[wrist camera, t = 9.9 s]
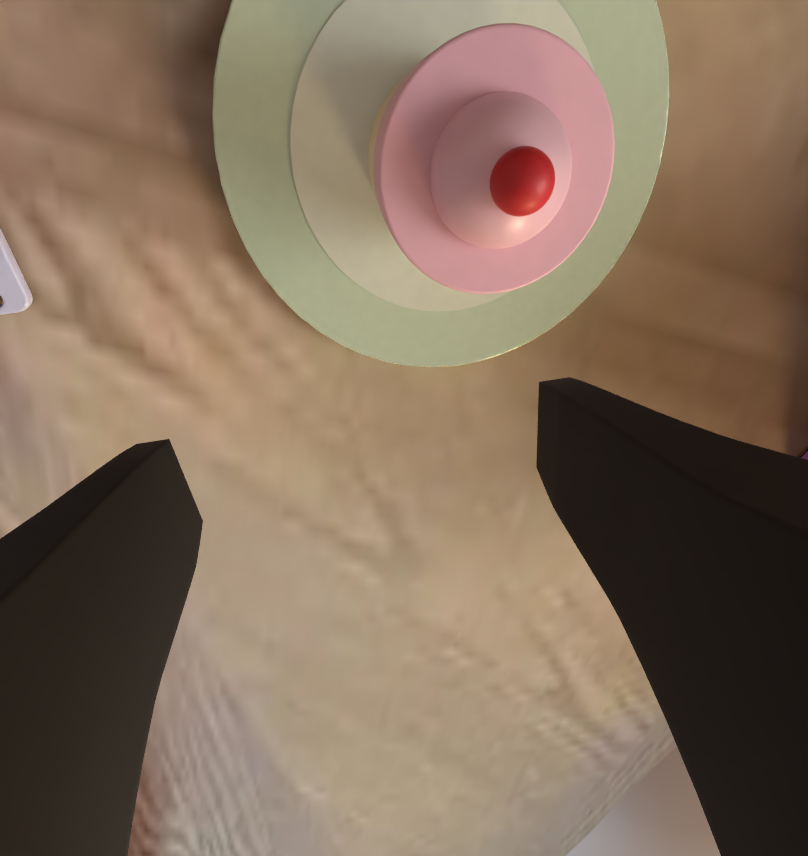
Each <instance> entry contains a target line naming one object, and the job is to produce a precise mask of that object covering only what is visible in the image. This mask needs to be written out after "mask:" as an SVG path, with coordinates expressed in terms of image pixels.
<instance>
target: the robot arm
mask: <svg viewBox="0 0 808 856" xmlns="http://www.w3.org/2000/svg"><path fill="white" fill-rule="evenodd" d="M0 296H1V298H2V299H3V304H0V315H3V314H10V313H18V312H21V311H24V310H26V309H27V308H29V307H30V305H31V304H32V300H33V298H32V294H31V291H30V289H29V287H28V285H27V283H26V281H25V279H24V277H23V275H22V272H21V270H20V268H19V266H18V264H17V262H16V260H15V258H14V256H13V254H12V251H11V249H10V247H9V245H8V243H7V241H6V239H5V237H4V235H3V233H2V230H1V228H0ZM537 469H538V472H539V474H540V477H541V479H542V482H543V484H544V487H545V489H546V491H547V494H548V496H549V498H550V501H551V503H552V505H553V507H554V509H555V511H556V512H557V514H558V516H559V518H560V519H561V521H562V523H563V524H564V526H565V528H566V529H567V531H568V533H569V534H570V536H571V538H572V539H573V541H574V543H575V544H576V546H577V548H578V549H579V551H580V552H581V554H582V556H583V557H584V559H585V561H586V562H587V564H588V566H589V567H590V569H591V570H592V572H593V574H594V575H595V577H596V579H597V580H598V582H599V584H600V585H601V587H602V589H603V590H604V592H605V593H606V595H607V597H608V598H609V600H610V602H611V604H612V606H613V608H614V609H615V611H616V613H617V615H618V617H619V618H620V620H621V622H622V625H623V627H624V629H625V631H626V633H627V635H628V637H629V639H630V641H631V644H632V646H633V648H634V650H635V652H636V654H637V656H638V658H639V660H640V663H641V665H642V667H643V669H644V671H645V673H646V676H647V678H648V680H649V682H650V685H651V687H652V689H653V691H654V694H655V696H656V698H657V700H658V703H659V705H660V707H661V709H662V712H663V714H664V716H665V718H666V721H667V723H668V725H669V728H670V730H671V732H672V735H673V737H674V740H675V742H676V744H677V747H678V749H679V752H680V754H681V756H682V759H683V761H684V764H685V766H686V768H687V771H688V773H689V776H690V778H691V780H692V783H693V785H694V788H695V790H696V792H697V794H698V797H699V800H700V803H701V805H702V808H703V810H704V813H705V815H706V818H707V821H708V823H709V826H710V828H711V831H712V834H713V836H714V839H715V841H716V844H717V846H718V849H719V851H720V854H721V856H808V460H807V459H803V458H799V457H795V456H791V455H787V454H783V453H780V452H776V451H773V450H769V449H766V448H762V447H758V446H755V445H751V444H748V443H744V442H741V441H738V440H734V439H731V438H728V437H725V436H722V435H719V434H716V433H713V432H710V431H707V430H705V429H702V428H699V427H696V426H693V425H690V424H688V423H685V422H682V421H680V420H677V419H674V418H672V417H669V416H666V415H664V414H661V413H659V412H656V411H654V410H651V409H649V408H647V407H644V406H642V405H639V404H637V403H634V402H632V401H630V400H627V399H625V398H622V397H620V396H618V395H615V394H613V393H611V392H608V391H606V390H603V389H601V388H598V387H596V386H593V385H591V384H588V383H586V382H583V381H580V380H577V379H574V378H570V377H569V378H562V379H556V380H549V381H543V382H539V402H538V435H537ZM202 523H203V520H202V518H201V515H200V513H199V511H198V508H197V506H196V503H195V501H194V498H193V496H192V494H191V491H190V489H189V486H188V484H187V481H186V479H185V477H184V474H183V472H182V469H181V467H180V464H179V462H178V460H177V457H176V455H175V452H174V450H173V447H172V445H171V443H170V440H169V439H166V440H160V441H153V442H147V443H140V444H136V445H134V446H132V447H131V448H129V449H127V450H125V451H124V452H122V453H121V454H119V455H118V456H116V457H115V458H113V459H112V460H110V461H109V462H108V463H106V464H105V465H103V466H102V467H101V468H99V469H98V470H96V471H95V472H94V473H92V474H91V475H90V476H88V477H87V478H85V479H84V480H83V481H81V482H80V483H79V484H77V485H76V486H75V487H73V488H72V489H70V490H69V491H68V492H66V493H65V494H64V495H62V496H61V497H60V498H58V499H57V500H55V501H54V502H53V503H51V504H50V505H49V506H47V507H46V508H44V509H43V510H42V511H40V512H39V513H37V514H36V515H34V516H33V517H31V518H30V519H29V520H27V521H26V522H24V523H23V524H21V525H20V526H18V527H17V528H15V529H14V530H13V531H11V532H10V533H8V534H7V535H5V536H4V537H2V538H1V539H0V856H127V854H128V847H129V841H130V834H131V827H132V821H133V815H134V809H135V804H136V798H137V792H138V786H139V781H140V775H141V769H142V763H143V758H144V753H145V748H146V743H147V738H148V733H149V728H150V723H151V718H152V714H153V709H154V704H155V700H156V696H157V692H158V688H159V685H160V681H161V677H162V674H163V671H164V668H165V664H166V661H167V658H168V655H169V652H170V649H171V645H172V642H173V639H174V636H175V633H176V630H177V627H178V623H179V620H180V617H181V614H182V611H183V608H184V604H185V601H186V598H187V595H188V591H189V588H190V585H191V582H192V578H193V575H194V571H195V568H196V563H197V557H198V551H199V546H200V538H201V531H202Z"/></svg>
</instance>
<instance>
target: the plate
mask: <svg viewBox="0 0 808 856" xmlns="http://www.w3.org/2000/svg"><path fill="white" fill-rule="evenodd" d="M497 23H517V24H524V25H530V26H534V27H537V28H540V29H543V30H546V31H548V32H550V33H552V34H554V35H556V36H558V37H560V38H561V39H563V40H564V41H566V42H567V43H568V44H569V45H571V46H572V47H573V48H575V49H576V50H577V51H578V52H579V53H580V54H581V56H582V57H583V58H584V59H585V60H586V61H587V62H588V64H589V65H590V66H591V68H592V69H593V71H594V72H595V74H596V75H597V77H598V79H599V81H600V83H601V85H602V87H603V89H604V91H605V94H606V97H607V100H608V103H609V106H610V110H611V115H612V120H613V125H614V139H615V151H614V164H613V171H612V177H611V181H610V185H609V189H608V192H607V196H606V198H605V201H604V203H603V206H602V208H601V211H600V213H599V215H598V217H597V219H596V221H595V223H594V225H593V226H592V228H591V229H590V231H589V232H588V234H587V235H586V237H585V238H584V240H583V241H582V242H581V243H580V245H579V246H578V247H577V248H576V250H575V251H574V252H573V253H572V254H571V255H570V256H569V257H568V258H567V259H566V260H565V261H564V262H563V263H561V264H560V265H559V266H558V267H556V268H555V269H554V270H553V271H551V272H550V273H548V274H547V275H545V276H543V277H542V278H540V279H539V280H536V281H534V282H532V283H530V284H528V285H526V286H523V287H520V288H517V289H514V290H511V291H506V292H501V293H492V294H476V293H467V292H463V291H458V290H455V289H452V288H449V287H446V286H444V285H442V284H440V283H438V282H436V281H434V280H432V279H431V278H429V277H428V276H427V275H425V274H424V273H422V272H421V271H420V270H419V269H418V268H417V267H416V266H414V265H413V264H412V263H411V262H410V261H409V259H408V258H407V257H406V256H405V254H404V253H403V252H402V251H401V249H400V248H399V246H398V244H397V243H396V241H395V240H394V238H393V236H392V234H391V232H390V230H389V229H388V227H387V225H386V222H385V220H384V218H383V216H382V213H381V210H380V207H379V204H378V201H377V198H376V196H375V194H374V191H373V188H372V184H371V181H370V176H369V170H368V144H369V138H370V132H371V129H372V126H373V122H374V119H375V117H376V115H377V112H378V110H379V108H380V106H381V105H382V103H383V101H384V100H385V98H386V97H387V95H388V94H389V93H390V91H391V90H392V89H393V88H394V87H395V86H396V85H397V84H398V83H399V82H400V81H401V80H402V79H403V78H404V77H406V75H407V74H408V73H409V72H410V71H411V70H412V69H413V68H414V67H415V66H416V65H417V64H418V63H419V62H420V61H421V60H422V59H424V58H425V57H426V56H428V55H429V54H430V53H432V52H433V51H434V50H436V49H437V48H438V47H440V46H441V45H443V44H444V43H445V42H447V41H449V40H451V39H452V38H454V37H456V36H458V35H460V34H462V33H464V32H467V31H469V30H472V29H475V28H478V27H481V26H486V25H492V24H497ZM668 108H669V64H668V56H667V49H666V42H665V34H664V28H663V24H662V20H661V16H660V13H659V9H658V5H657V1H656V0H232V1H231V4H230V8H229V11H228V14H227V18H226V21H225V24H224V28H223V31H222V34H221V38H220V42H219V48H218V54H217V60H216V66H215V72H214V80H213V103H212V123H213V136H214V150H215V156H216V161H217V166H218V172H219V177H220V182H221V187H222V190H223V193H224V196H225V199H226V202H227V205H228V209H229V212H230V215H231V218H232V220H233V222H234V225H235V227H236V229H237V231H238V233H239V236H240V238H241V240H242V242H243V244H244V247H245V248H246V250H247V252H248V253H249V255H250V257H251V258H252V260H253V262H254V263H255V265H256V267H257V268H258V270H259V272H260V273H261V274H262V276H263V277H264V278H265V280H266V281H267V282H268V283H269V285H270V286H271V287H272V289H273V290H274V291H275V292H276V294H277V295H278V296H279V297H280V298H281V299H282V300H283V301H284V302H285V303H286V304H287V305H288V306H289V307H290V308H291V309H292V310H293V311H294V312H295V313H296V314H297V315H298V316H299V317H300V318H302V319H303V320H304V321H305V322H307V323H308V324H309V325H311V326H312V327H313V328H314V329H316V330H317V331H318V332H320V333H321V334H323V335H325V336H326V337H328V338H330V339H331V340H333V341H335V342H336V343H338V344H340V345H342V346H344V347H346V348H348V349H351V350H353V351H355V352H357V353H360V354H362V355H364V356H368V357H371V358H374V359H378V360H381V361H384V362H388V363H394V364H400V365H406V366H416V367H446V366H458V365H463V364H468V363H473V362H478V361H483V360H486V359H489V358H492V357H495V356H498V355H501V354H504V353H507V352H509V351H511V350H513V349H515V348H518V347H520V346H522V345H524V344H526V343H528V342H530V341H532V340H533V339H535V338H537V337H538V336H540V335H541V334H543V333H545V332H546V331H548V330H550V329H551V328H552V327H554V326H555V325H556V324H558V323H559V322H560V321H561V320H563V319H564V318H565V317H567V316H568V315H569V314H571V313H572V312H573V311H574V310H575V309H576V308H577V307H578V306H579V305H580V304H581V303H582V302H583V301H584V300H585V299H586V298H587V297H588V296H590V294H591V293H592V292H593V291H594V290H595V289H596V287H597V286H598V285H599V284H600V283H601V282H602V280H603V279H604V278H605V277H606V276H607V275H608V273H609V272H610V270H611V269H612V267H613V266H614V264H615V263H616V262H617V260H618V259H619V257H620V256H621V254H622V253H623V251H624V250H625V248H626V246H627V244H628V243H629V241H630V239H631V237H632V235H633V233H634V232H635V230H636V228H637V226H638V224H639V222H640V220H641V217H642V215H643V212H644V210H645V208H646V205H647V203H648V201H649V198H650V196H651V193H652V189H653V186H654V183H655V180H656V176H657V173H658V170H659V167H660V162H661V157H662V152H663V147H664V142H665V137H666V130H667V119H668Z"/></svg>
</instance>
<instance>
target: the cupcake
mask: <svg viewBox="0 0 808 856" xmlns="http://www.w3.org/2000/svg"><path fill="white" fill-rule="evenodd" d="M614 151H615V139H614V125H613V120H612V115H611V110H610V106H609V103H608V100H607V97H606V94H605V91H604V89H603V87H602V85H601V83H600V81H599V79H598V77H597V75H596V74H595V72H594V71H593V69H592V68H591V66H590V65H589V64H588V62H587V61H586V60H585V59H584V58H583V57H582V56H581V54H580V53H579V52H578V51H577V50H576V49H575V48H573V47H572V46H571V45H569V44H568V43H567V42H566V41H564V40H563V39H561V38H560V37H558V36H556V35H554V34H552V33H550V32H548V31H546V30H543V29H540V28H537V27H534V26H530V25H524V24H517V23H497V24H492V25H486V26H481V27H478V28H475V29H472V30H469V31H467V32H464V33H462V34H460V35H458V36H456V37H454V38H452V39H451V40H449V41H447V42H445V43H444V44H443V45H441V46H440V47H438V48H437V49H436V50H434V51H433V52H432V53H430V54H429V55H428V56H426V57H425V58H424V59H422V60H421V61H420V62H419V63H418V64H417V65H416V66H415V67H414V68H413V69H412V70H411V71H410V72H409V73H408V74H407V75H406V77H404V78H403V79H402V80H401V81H400V82H399V83H398V84H397V85H396V86H395V87H394V88H393V89H392V90H391V91H390V93H389V94H388V95H387V97H386V98H385V100H384V101H383V103H382V105H381V106H380V108H379V110H378V112H377V115H376V117H375V119H374V122H373V126H372V129H371V132H370V138H369V144H368V170H369V176H370V181H371V184H372V188H373V191H374V194H375V196H376V198H377V201H378V204H379V207H380V210H381V213H382V216H383V218H384V220H385V222H386V225H387V227H388V229H389V230H390V232H391V234H392V236H393V238H394V240H395V241H396V243H397V244H398V246H399V248H400V249H401V251H402V252H403V253H404V254H405V256H406V257H407V258H408V259H409V261H410V262H411V263H412V264H413V265H414V266H416V267H417V268H418V269H419V270H420V271H421V272H422V273H424V274H425V275H427V276H428V277H429V278H431V279H432V280H434V281H436V282H438V283H440V284H442V285H444V286H446V287H449V288H452V289H455V290H458V291H463V292H467V293H476V294H492V293H501V292H506V291H511V290H514V289H517V288H520V287H523V286H526V285H528V284H530V283H532V282H534V281H536V280H539V279H540V278H542V277H543V276H545V275H547V274H548V273H550V272H551V271H553V270H554V269H555V268H556V267H558V266H559V265H560V264H561V263H563V262H564V261H565V260H566V259H567V258H568V257H569V256H570V255H571V254H572V253H573V252H574V251H575V250H576V248H577V247H578V246H579V245H580V243H581V242H582V241H583V240H584V238H585V237H586V235H587V234H588V232H589V231H590V229H591V228H592V226H593V225H594V223H595V221H596V219H597V217H598V215H599V213H600V211H601V208H602V206H603V203H604V201H605V198H606V196H607V192H608V189H609V185H610V181H611V177H612V171H613V164H614Z"/></svg>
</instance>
